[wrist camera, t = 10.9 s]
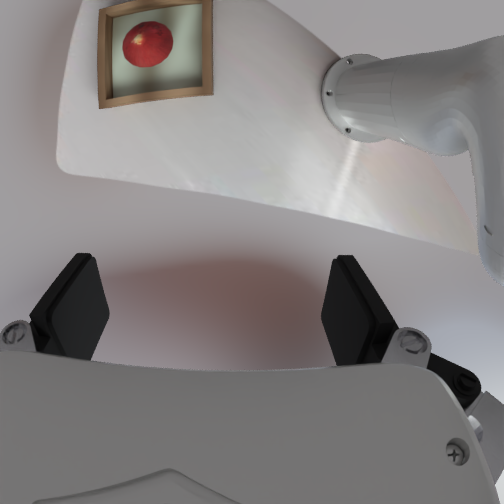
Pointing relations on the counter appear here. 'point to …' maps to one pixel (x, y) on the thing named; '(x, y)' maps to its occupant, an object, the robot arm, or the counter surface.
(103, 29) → the tray
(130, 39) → the dark red round piece
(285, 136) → the counter surface
